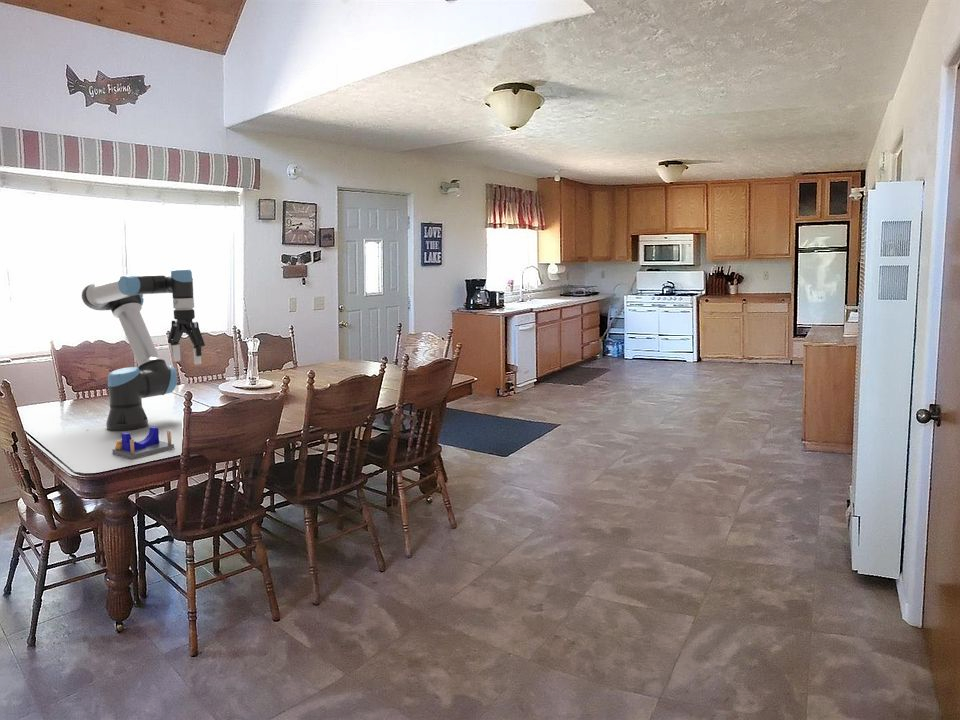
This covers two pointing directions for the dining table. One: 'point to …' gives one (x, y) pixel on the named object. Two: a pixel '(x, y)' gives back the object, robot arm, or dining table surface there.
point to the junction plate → (146, 451)
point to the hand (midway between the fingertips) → (187, 362)
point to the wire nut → (118, 445)
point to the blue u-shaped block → (148, 441)
